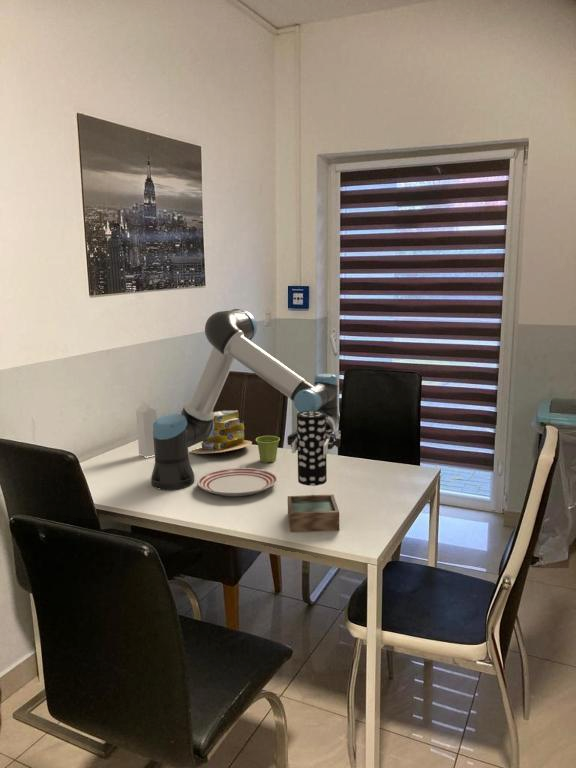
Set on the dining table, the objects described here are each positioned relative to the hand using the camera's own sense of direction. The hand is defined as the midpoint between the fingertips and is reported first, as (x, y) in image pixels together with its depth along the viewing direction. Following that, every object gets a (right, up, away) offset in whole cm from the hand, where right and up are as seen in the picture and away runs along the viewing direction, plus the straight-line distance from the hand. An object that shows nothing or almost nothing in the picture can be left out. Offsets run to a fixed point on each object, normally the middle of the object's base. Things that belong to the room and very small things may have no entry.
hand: (308, 449), depth 177 cm
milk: (-62, -11, +78) cm, 100 cm away
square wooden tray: (+1, -22, +9) cm, 24 cm away
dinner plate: (-23, -18, +39) cm, 49 cm away
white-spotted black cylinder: (+1, -10, +7) cm, 12 cm away
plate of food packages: (-33, -10, +82) cm, 89 cm away
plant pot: (-14, -12, +68) cm, 71 cm away
